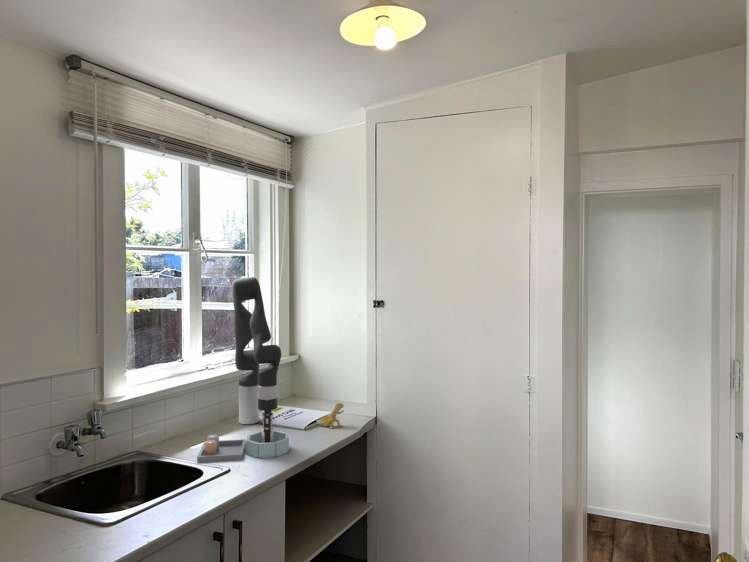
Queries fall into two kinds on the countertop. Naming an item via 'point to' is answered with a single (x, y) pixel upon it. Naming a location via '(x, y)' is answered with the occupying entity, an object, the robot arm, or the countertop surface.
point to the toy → (331, 417)
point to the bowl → (267, 445)
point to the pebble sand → (264, 435)
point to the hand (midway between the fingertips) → (267, 439)
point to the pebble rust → (210, 447)
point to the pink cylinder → (214, 437)
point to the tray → (225, 451)
